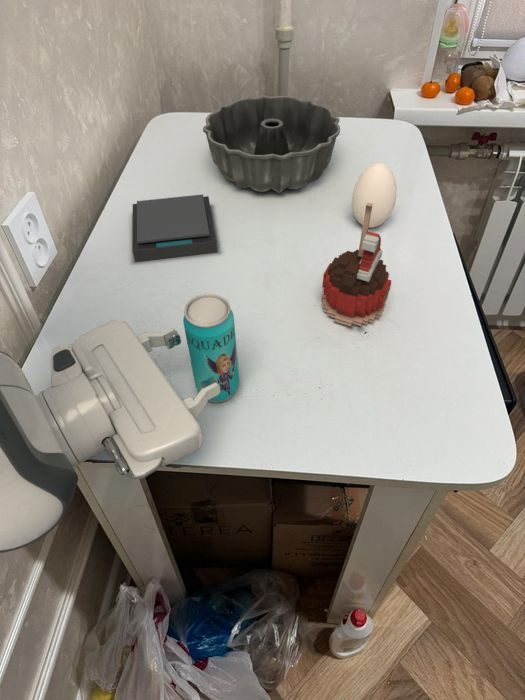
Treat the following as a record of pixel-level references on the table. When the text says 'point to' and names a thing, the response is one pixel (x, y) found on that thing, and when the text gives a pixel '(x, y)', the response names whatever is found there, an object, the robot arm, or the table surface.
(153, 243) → the kitchen scale
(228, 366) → the beverage can
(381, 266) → the cake
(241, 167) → the bundt pan
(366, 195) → the egg
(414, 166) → the table surface
